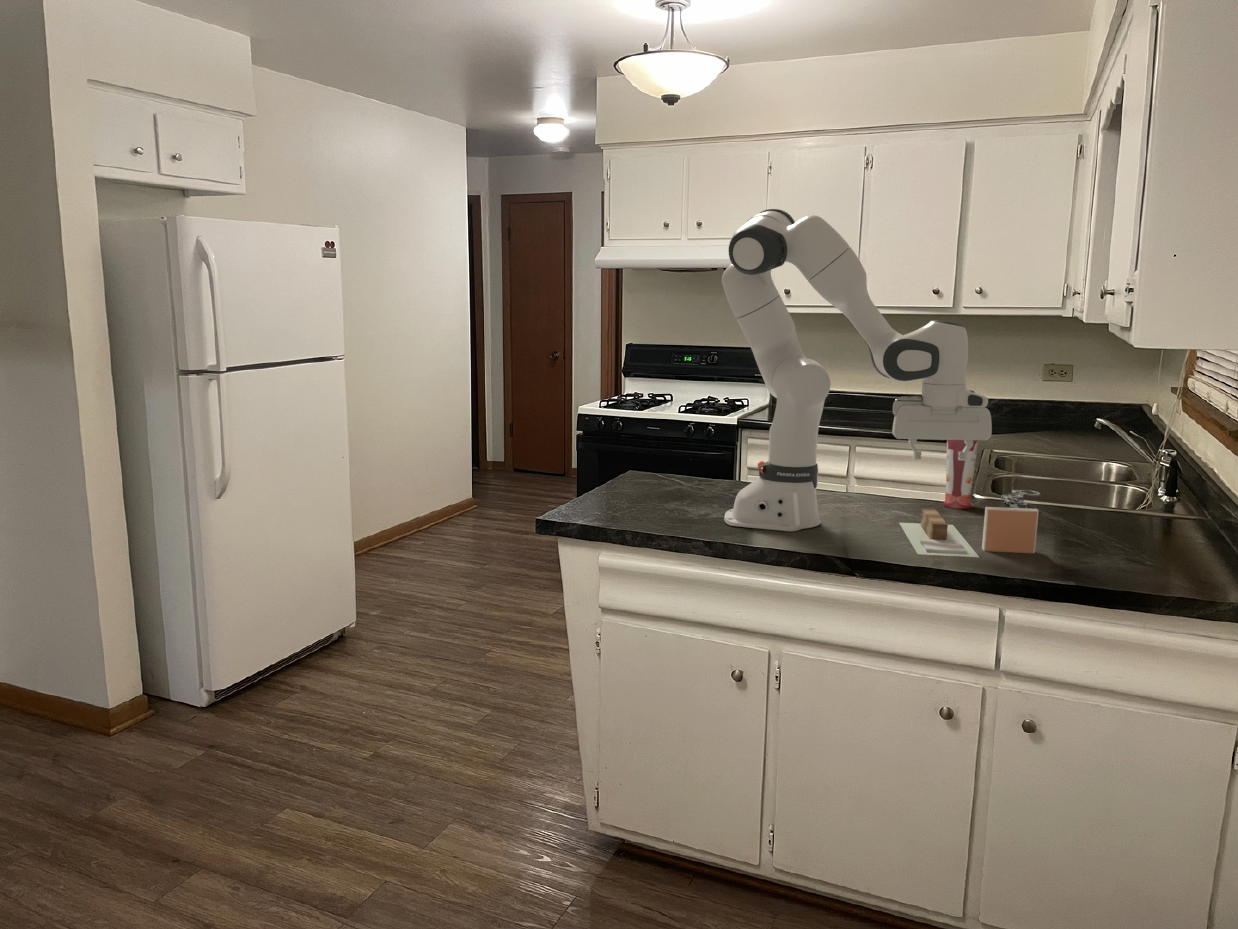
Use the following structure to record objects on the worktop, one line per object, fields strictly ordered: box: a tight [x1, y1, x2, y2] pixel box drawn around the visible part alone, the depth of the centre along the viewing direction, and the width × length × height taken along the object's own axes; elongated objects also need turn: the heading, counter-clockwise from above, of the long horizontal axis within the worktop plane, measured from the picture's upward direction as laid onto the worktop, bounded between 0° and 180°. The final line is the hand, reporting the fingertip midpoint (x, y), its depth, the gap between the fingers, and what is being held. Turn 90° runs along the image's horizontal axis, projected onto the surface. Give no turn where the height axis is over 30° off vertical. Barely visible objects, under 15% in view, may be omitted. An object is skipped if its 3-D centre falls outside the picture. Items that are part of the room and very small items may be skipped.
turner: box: [920, 508, 967, 554], centre depth 194 cm, size 22×8×4 cm, turn 171°
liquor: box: [942, 440, 979, 510], centre depth 222 cm, size 7×7×28 cm
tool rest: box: [898, 522, 980, 558], centre depth 194 cm, size 12×26×1 cm, turn 171°
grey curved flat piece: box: [1000, 489, 1041, 509], centre depth 233 cm, size 28×2×10 cm
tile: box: [981, 506, 1040, 554], centre depth 184 cm, size 10×2×10 cm, turn 81°
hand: (939, 459), depth 195 cm, fingers open, 8 cm apart
